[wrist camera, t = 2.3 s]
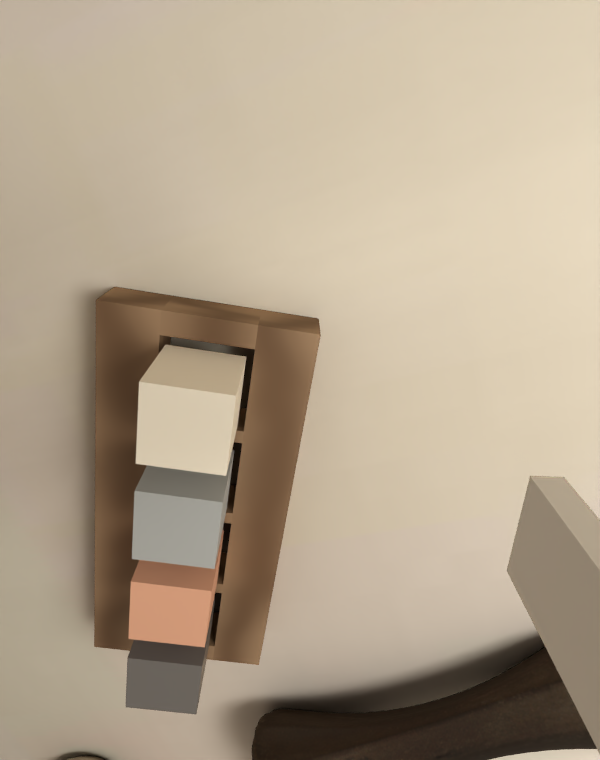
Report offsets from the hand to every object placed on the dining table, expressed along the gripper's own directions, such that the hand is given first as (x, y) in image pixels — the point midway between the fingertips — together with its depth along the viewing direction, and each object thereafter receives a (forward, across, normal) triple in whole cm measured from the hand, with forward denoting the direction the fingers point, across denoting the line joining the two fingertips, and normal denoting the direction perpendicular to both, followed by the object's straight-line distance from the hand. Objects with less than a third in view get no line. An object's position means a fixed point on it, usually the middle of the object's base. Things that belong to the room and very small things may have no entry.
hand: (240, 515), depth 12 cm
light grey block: (+17, -5, -10) cm, 20 cm away
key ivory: (+17, -4, -4) cm, 18 cm away
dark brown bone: (+21, +12, -33) cm, 41 cm away
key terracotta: (+17, -5, -16) cm, 24 cm away
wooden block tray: (+20, -5, -13) cm, 24 cm away
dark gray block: (+17, -6, -22) cm, 28 cm away
